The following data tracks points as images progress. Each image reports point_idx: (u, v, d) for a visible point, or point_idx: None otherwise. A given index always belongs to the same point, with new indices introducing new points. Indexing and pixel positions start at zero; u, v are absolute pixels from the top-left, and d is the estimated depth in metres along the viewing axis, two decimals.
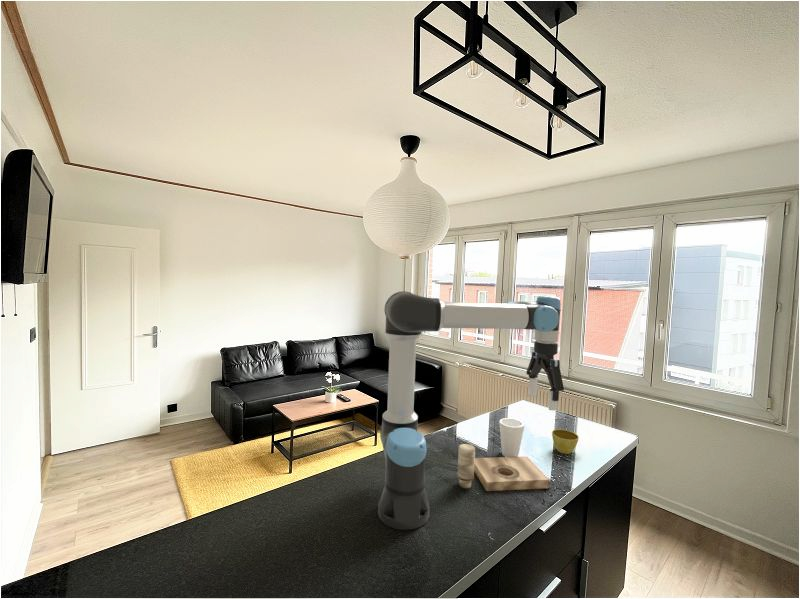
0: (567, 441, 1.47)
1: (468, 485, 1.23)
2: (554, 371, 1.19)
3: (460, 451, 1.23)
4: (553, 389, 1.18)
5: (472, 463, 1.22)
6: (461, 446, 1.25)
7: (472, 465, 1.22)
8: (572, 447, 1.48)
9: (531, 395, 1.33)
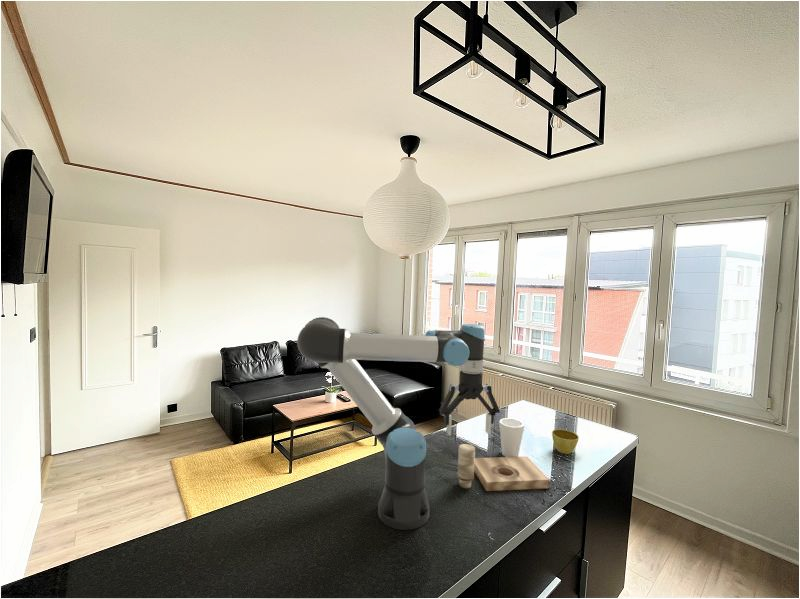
0: (567, 441, 1.47)
1: (468, 485, 1.23)
2: (447, 395, 1.23)
3: (460, 451, 1.23)
4: None
5: (472, 463, 1.22)
6: (461, 446, 1.25)
7: (472, 465, 1.22)
8: (572, 447, 1.48)
9: (486, 430, 1.25)
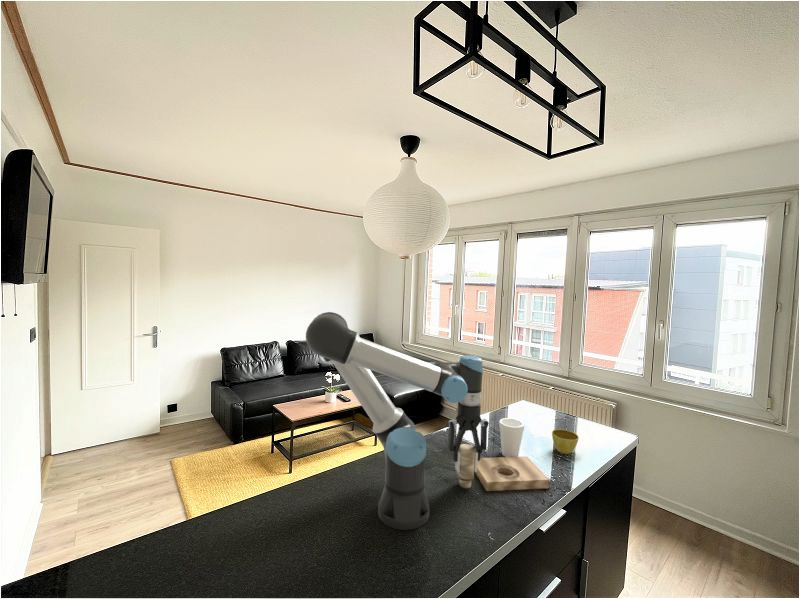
0: (567, 441, 1.47)
1: (468, 485, 1.23)
2: (449, 430, 1.24)
3: (460, 451, 1.23)
4: None
5: (472, 463, 1.22)
6: (461, 446, 1.25)
7: (472, 465, 1.22)
8: (572, 447, 1.48)
9: None
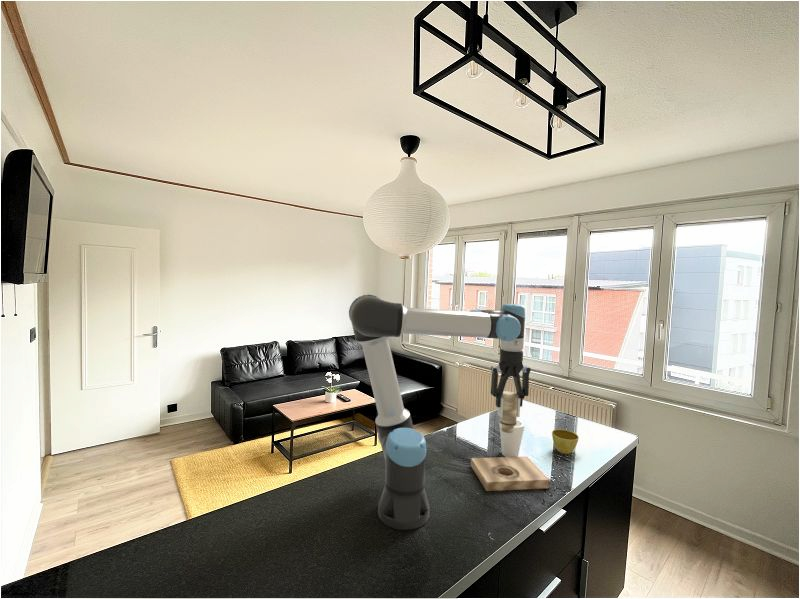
0: (567, 441, 1.47)
1: (511, 430, 1.26)
2: (492, 377, 1.27)
3: (503, 397, 1.26)
4: None
5: (515, 408, 1.25)
6: (503, 392, 1.28)
7: (515, 410, 1.25)
8: (572, 447, 1.48)
9: None
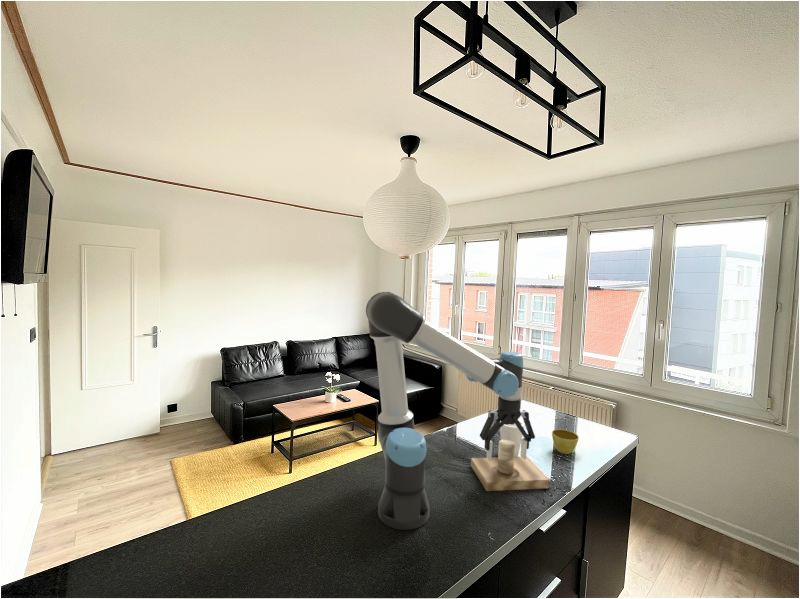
0: (567, 441, 1.47)
1: None
2: (486, 420, 1.27)
3: (501, 446, 1.27)
4: None
5: (512, 458, 1.26)
6: (501, 441, 1.29)
7: (512, 460, 1.26)
8: (572, 447, 1.48)
9: (521, 455, 1.30)
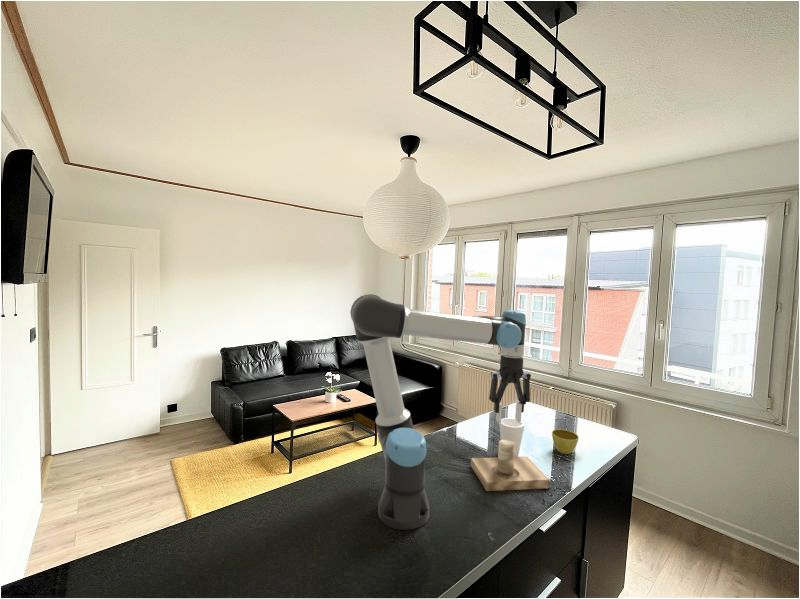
0: (567, 441, 1.47)
1: None
2: (491, 383, 1.27)
3: (501, 446, 1.27)
4: None
5: (512, 458, 1.26)
6: (501, 441, 1.29)
7: (512, 460, 1.26)
8: (572, 447, 1.48)
9: (516, 419, 1.29)
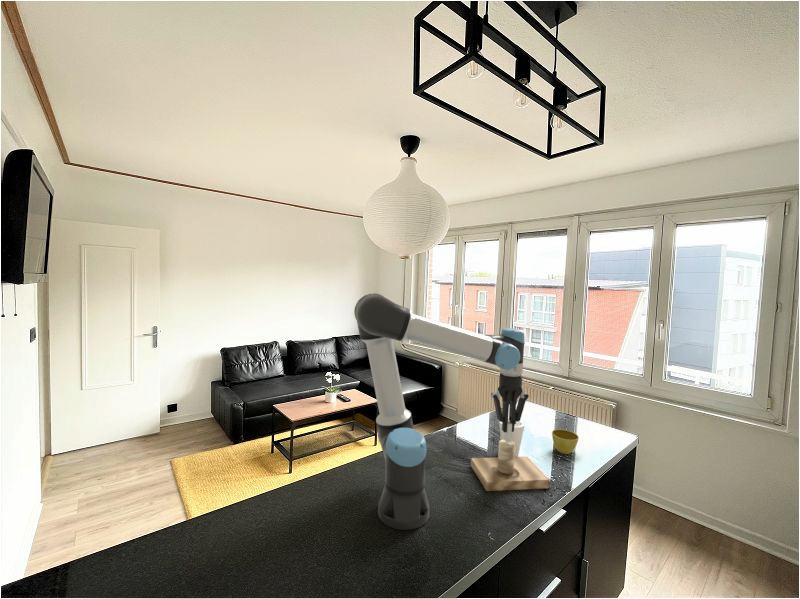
0: (567, 441, 1.47)
1: None
2: (494, 403, 1.27)
3: (501, 446, 1.27)
4: None
5: (512, 458, 1.26)
6: (501, 441, 1.29)
7: (512, 460, 1.26)
8: (572, 447, 1.48)
9: None
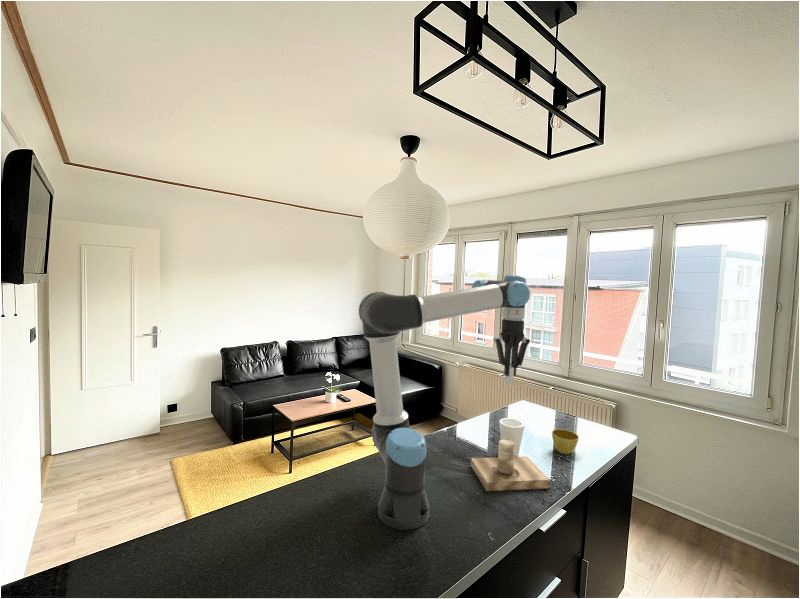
0: (567, 441, 1.47)
1: None
2: (497, 348, 1.31)
3: (501, 446, 1.27)
4: None
5: (512, 458, 1.26)
6: (501, 441, 1.29)
7: (512, 460, 1.26)
8: (572, 447, 1.48)
9: None
